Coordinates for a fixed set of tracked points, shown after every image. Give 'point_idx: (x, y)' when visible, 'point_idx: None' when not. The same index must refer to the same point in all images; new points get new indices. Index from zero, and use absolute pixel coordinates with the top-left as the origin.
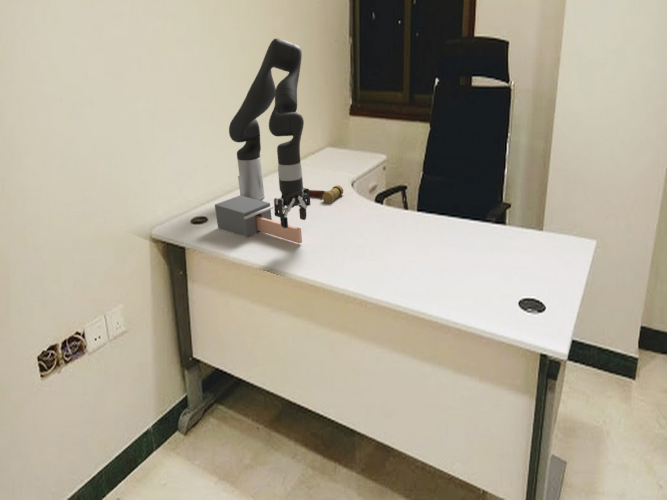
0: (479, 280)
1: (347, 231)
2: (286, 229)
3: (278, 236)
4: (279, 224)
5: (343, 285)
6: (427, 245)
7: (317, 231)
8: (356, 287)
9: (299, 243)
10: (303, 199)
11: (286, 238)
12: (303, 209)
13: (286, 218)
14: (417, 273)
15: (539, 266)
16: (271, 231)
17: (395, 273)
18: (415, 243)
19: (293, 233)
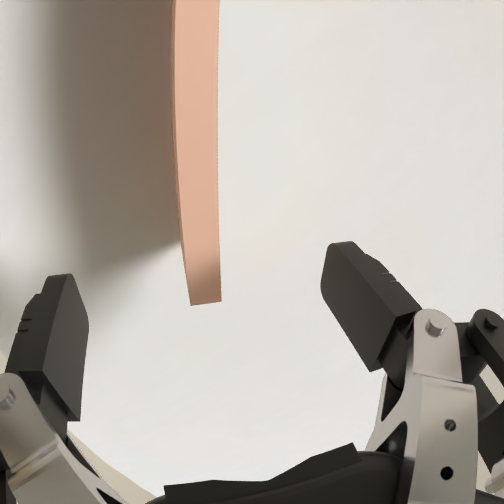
0: None
1: (415, 273)
2: (175, 148)
3: (171, 34)
4: (174, 50)
5: (108, 462)
6: (368, 421)
7: (386, 169)
8: (125, 471)
9: (180, 238)
10: (501, 377)
11: (172, 120)
12: (379, 362)
13: (68, 412)
14: (248, 473)
15: None
16: None
17: (224, 469)
18: (372, 410)
19: (180, 223)
